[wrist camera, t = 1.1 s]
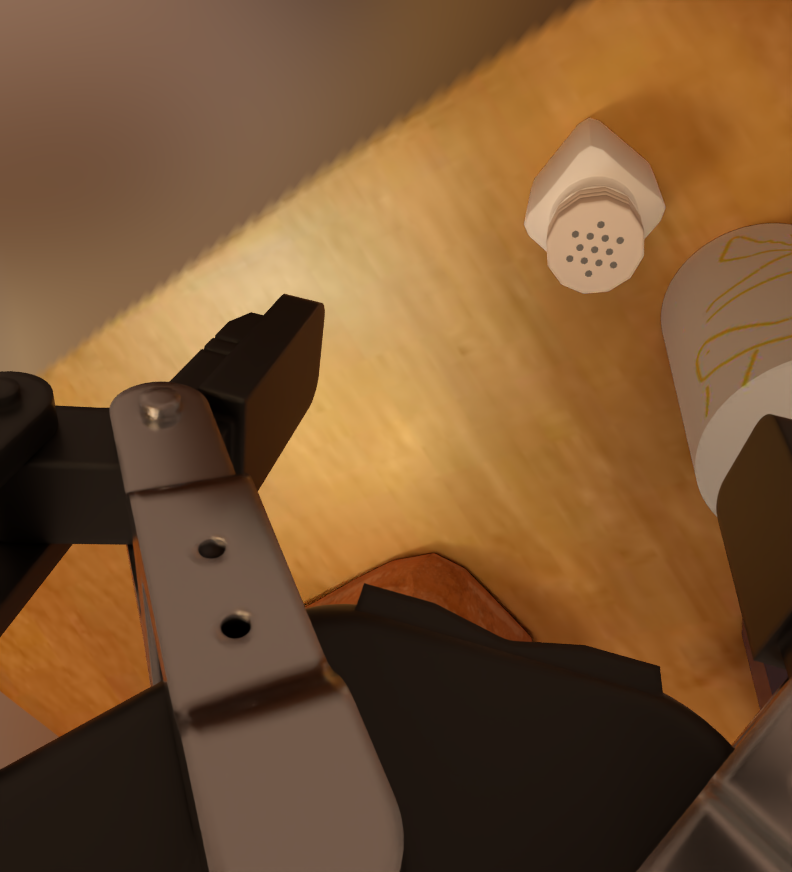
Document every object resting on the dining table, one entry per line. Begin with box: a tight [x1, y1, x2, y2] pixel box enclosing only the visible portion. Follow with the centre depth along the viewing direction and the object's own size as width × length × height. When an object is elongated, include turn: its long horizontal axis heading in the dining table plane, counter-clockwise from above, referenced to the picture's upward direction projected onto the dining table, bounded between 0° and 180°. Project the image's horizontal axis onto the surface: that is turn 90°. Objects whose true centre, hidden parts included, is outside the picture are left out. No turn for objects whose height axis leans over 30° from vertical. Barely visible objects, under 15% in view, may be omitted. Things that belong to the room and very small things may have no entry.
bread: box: [305, 553, 532, 642], centre depth 47 cm, size 14×27×15 cm, turn 132°
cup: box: [661, 223, 792, 516], centre depth 27 cm, size 8×8×12 cm
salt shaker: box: [524, 118, 666, 294], centre depth 26 cm, size 4×4×10 cm
